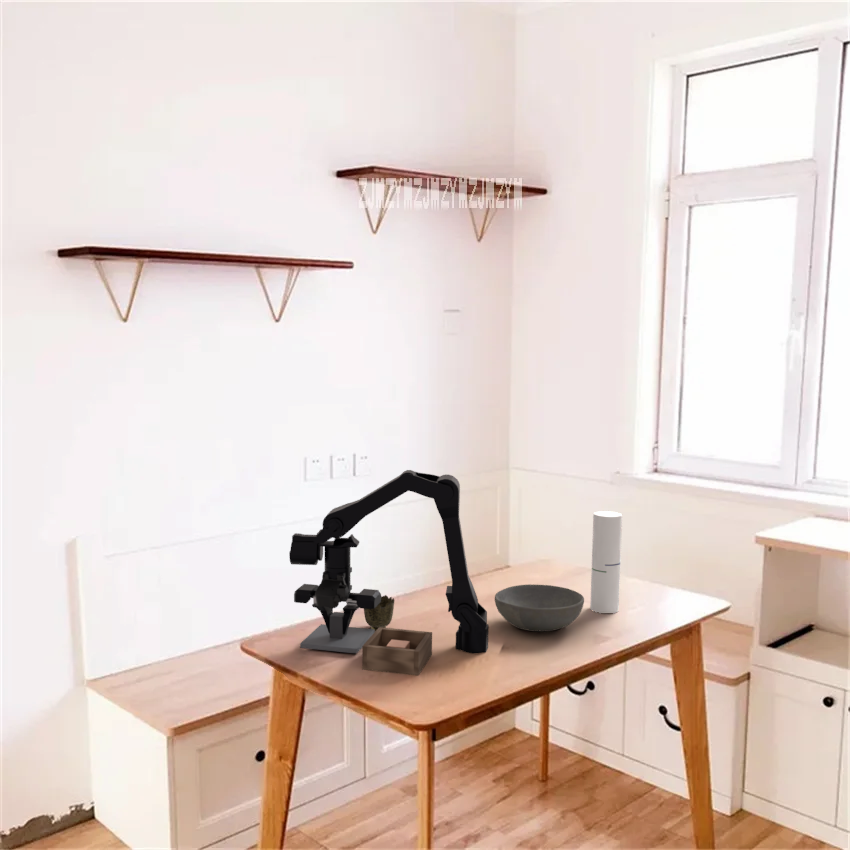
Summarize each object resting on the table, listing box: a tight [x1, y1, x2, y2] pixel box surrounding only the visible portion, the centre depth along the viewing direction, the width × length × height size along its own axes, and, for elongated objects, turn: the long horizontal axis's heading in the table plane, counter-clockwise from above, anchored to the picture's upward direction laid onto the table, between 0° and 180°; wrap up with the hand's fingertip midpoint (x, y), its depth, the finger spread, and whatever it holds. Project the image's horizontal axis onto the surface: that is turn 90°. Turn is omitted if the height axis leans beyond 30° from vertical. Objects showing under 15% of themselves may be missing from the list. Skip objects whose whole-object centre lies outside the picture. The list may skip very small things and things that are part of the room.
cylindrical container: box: [589, 510, 623, 614], centre depth 226 cm, size 7×7×25 cm
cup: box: [363, 594, 395, 631], centre depth 208 cm, size 8×7×8 cm
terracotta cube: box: [386, 640, 410, 649], centre depth 188 cm, size 4×4×4 cm
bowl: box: [494, 583, 585, 632], centre depth 213 cm, size 21×21×8 cm
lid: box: [299, 611, 375, 654], centre depth 198 cm, size 13×13×6 cm
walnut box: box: [361, 627, 433, 677], centre depth 188 cm, size 12×12×6 cm
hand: (337, 633), depth 198 cm, fingers closed on lid, 3 cm apart
